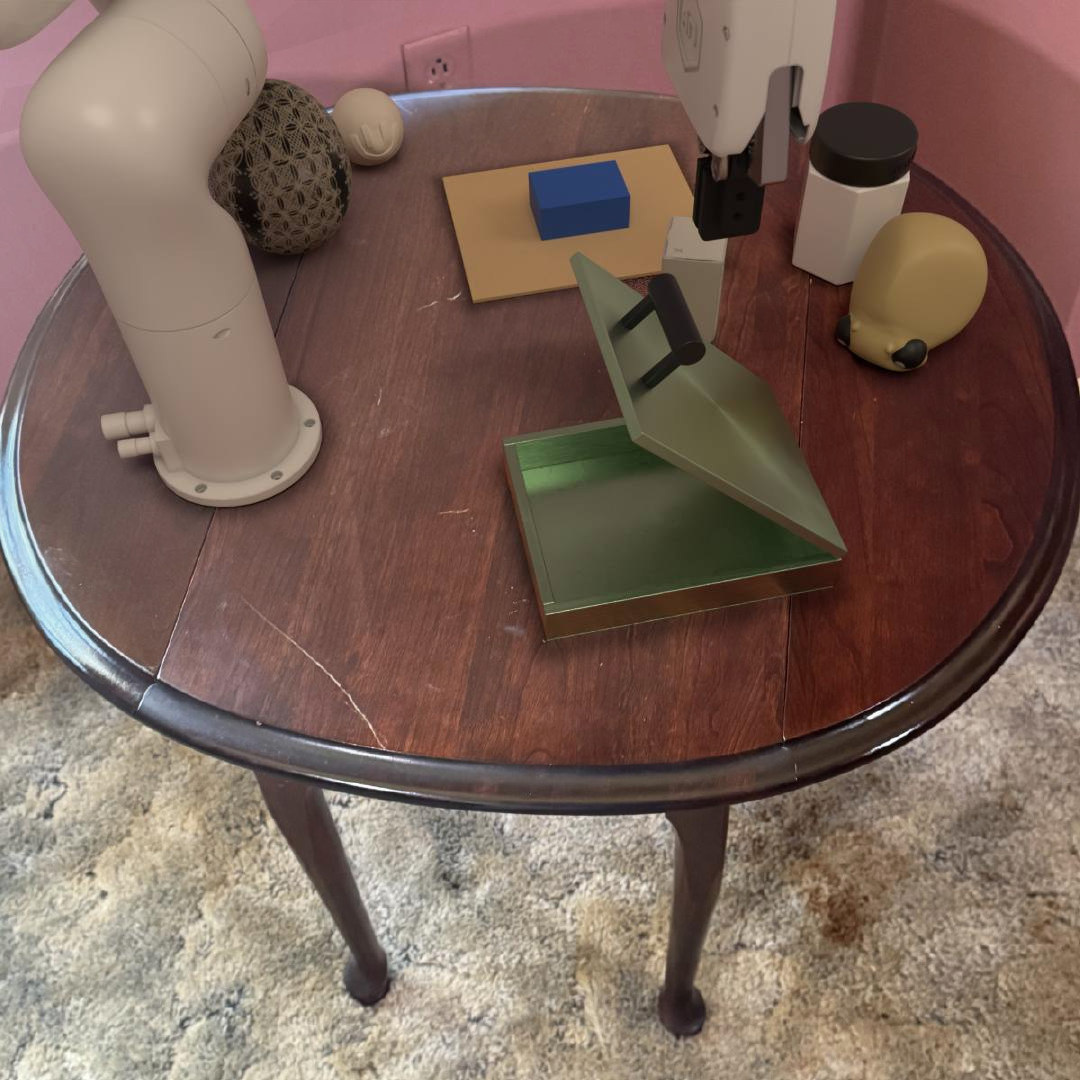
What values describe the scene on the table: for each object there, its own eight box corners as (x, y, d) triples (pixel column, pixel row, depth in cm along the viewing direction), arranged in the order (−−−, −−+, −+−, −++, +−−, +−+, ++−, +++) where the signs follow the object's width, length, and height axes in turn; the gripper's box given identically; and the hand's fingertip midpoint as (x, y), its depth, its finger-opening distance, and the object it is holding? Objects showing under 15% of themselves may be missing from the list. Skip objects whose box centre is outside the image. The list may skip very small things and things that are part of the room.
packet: (541, 241, 98) (540, 208, 95) (529, 204, 101) (528, 172, 99) (629, 228, 99) (630, 195, 96) (614, 191, 102) (615, 159, 100)
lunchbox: (547, 647, 73) (545, 615, 70) (504, 472, 82) (501, 437, 79) (831, 593, 75) (842, 559, 72) (758, 428, 84) (765, 392, 81)
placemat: (473, 303, 94) (472, 300, 94) (442, 180, 105) (442, 177, 104) (723, 264, 96) (724, 260, 96) (668, 147, 107) (668, 144, 107)
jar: (886, 291, 93) (921, 166, 84) (788, 282, 94) (811, 157, 85) (886, 226, 99) (919, 101, 89) (793, 218, 100) (815, 94, 90)
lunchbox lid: (631, 441, 59) (699, 385, 56) (568, 258, 68) (624, 204, 66) (838, 558, 72) (900, 517, 69) (761, 391, 81) (814, 349, 79)
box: (707, 398, 86) (724, 265, 76) (651, 391, 87) (660, 258, 77) (715, 352, 89) (732, 218, 79) (660, 346, 90) (670, 212, 80)
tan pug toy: (840, 344, 95) (795, 327, 86) (912, 211, 91) (873, 178, 82) (943, 396, 90) (908, 383, 81) (1023, 257, 87) (995, 228, 78)
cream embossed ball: (351, 189, 104) (338, 125, 99) (329, 148, 109) (316, 85, 103) (418, 171, 106) (410, 106, 101) (394, 131, 110) (385, 68, 105)
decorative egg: (273, 192, 105) (234, 38, 93) (385, 217, 102) (359, 61, 90) (207, 267, 98) (156, 112, 86) (324, 296, 95) (288, 139, 83)
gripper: (630, -213, 48) (621, 159, 63) (735, -60, 39) (696, 333, 54) (796, -232, 49) (749, 140, 64) (936, -87, 40) (844, 308, 55)
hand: (725, 228), depth 59 cm, fingers closed
